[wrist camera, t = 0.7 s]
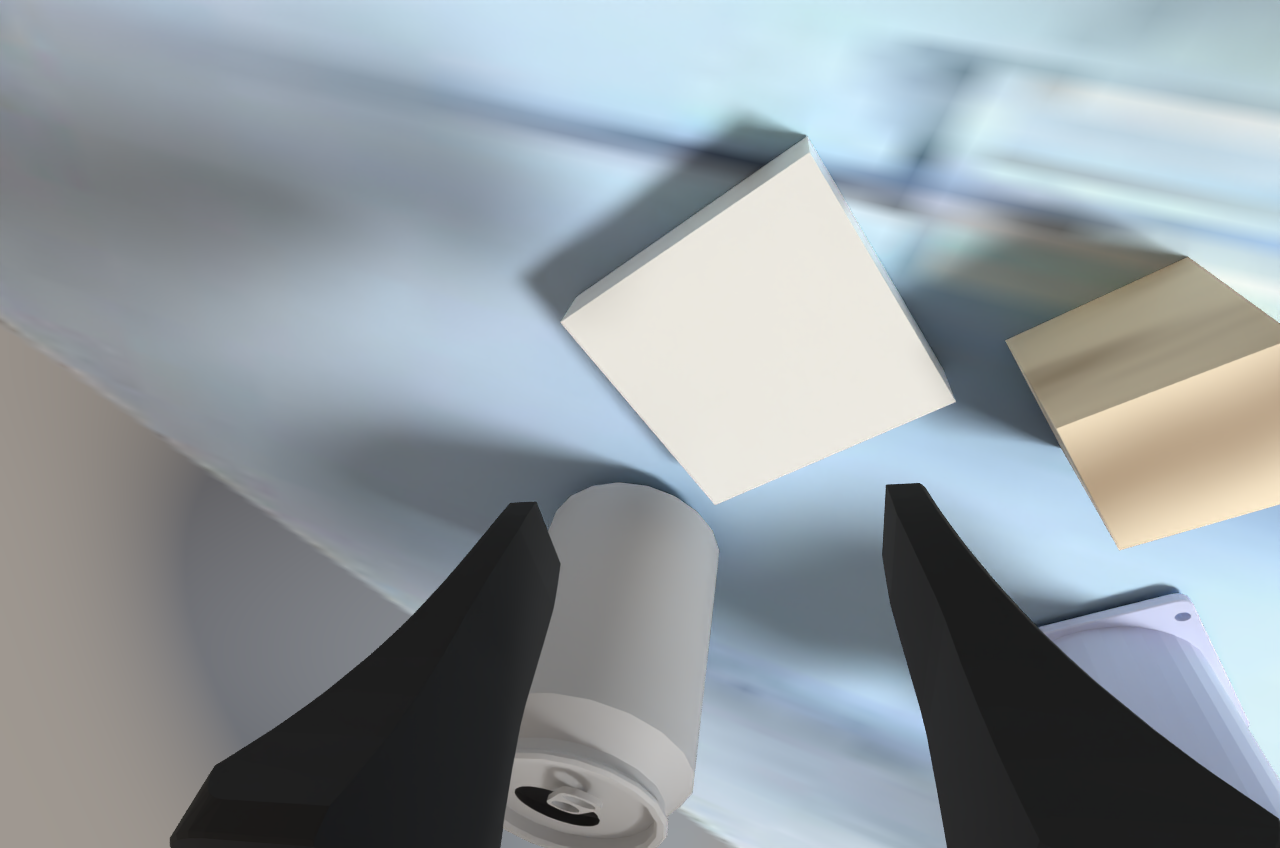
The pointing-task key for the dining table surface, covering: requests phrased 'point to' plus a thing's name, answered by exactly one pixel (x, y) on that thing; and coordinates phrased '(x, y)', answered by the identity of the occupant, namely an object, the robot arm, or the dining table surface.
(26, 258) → the dining table surface
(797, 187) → the coaster
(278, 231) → the dining table surface
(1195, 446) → the cube
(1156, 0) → the dining table surface
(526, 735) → the can
